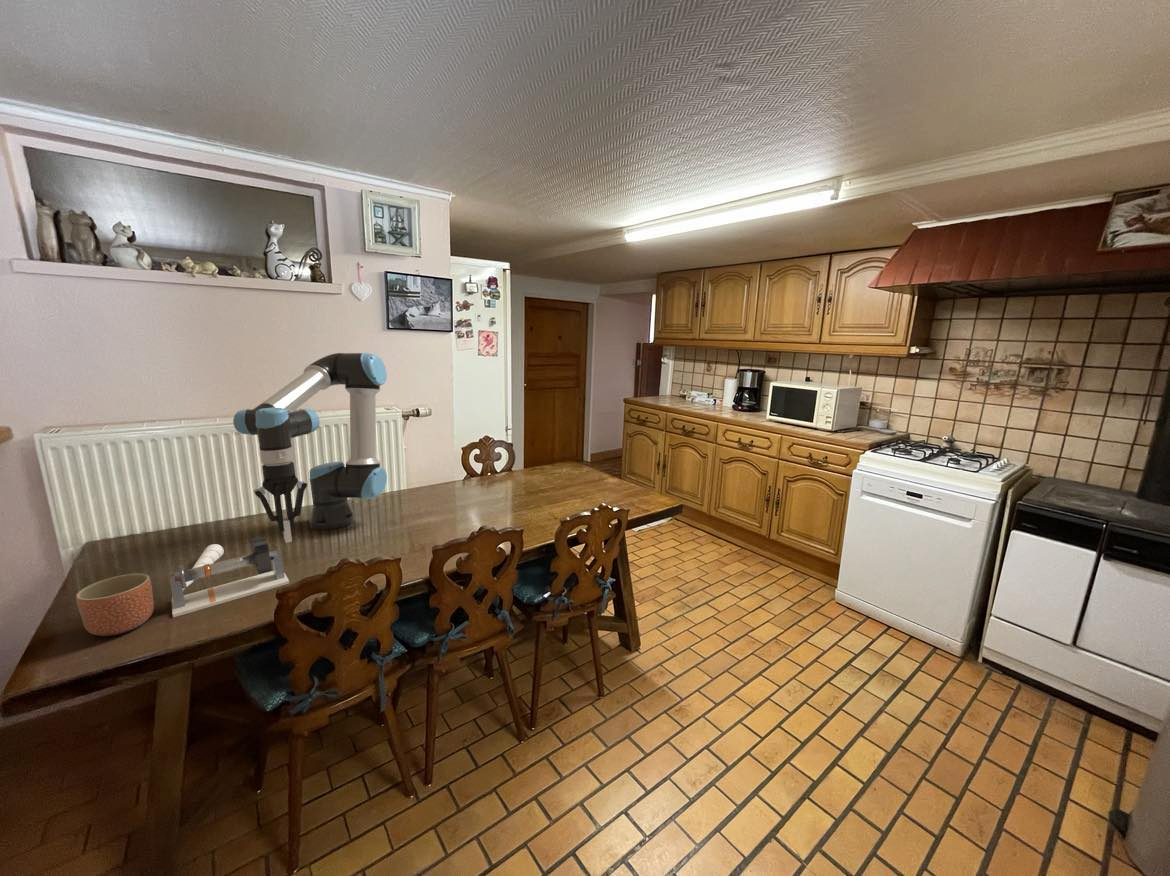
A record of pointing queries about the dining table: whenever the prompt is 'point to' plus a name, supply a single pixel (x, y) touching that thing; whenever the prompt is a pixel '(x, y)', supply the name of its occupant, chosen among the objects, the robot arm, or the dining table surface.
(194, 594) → the board
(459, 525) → the dining table surface
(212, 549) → the unicorn horn
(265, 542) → the collar
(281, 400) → the robot arm
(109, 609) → the planter
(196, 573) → the linear slide rail
